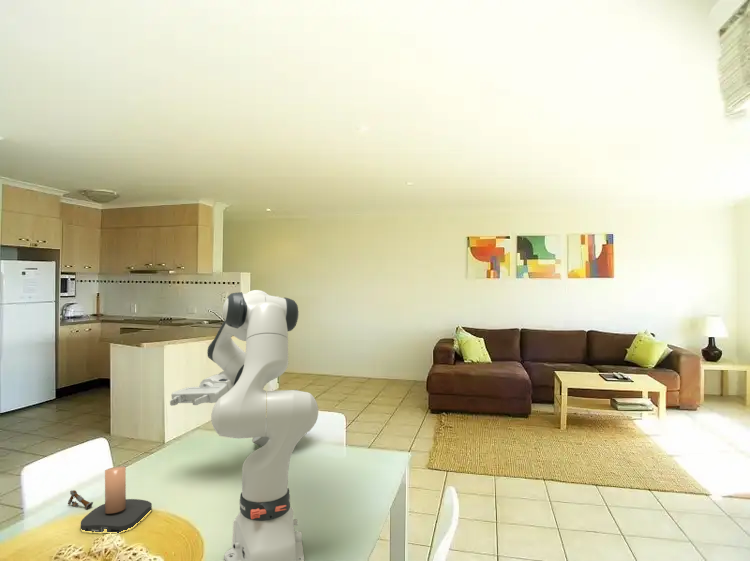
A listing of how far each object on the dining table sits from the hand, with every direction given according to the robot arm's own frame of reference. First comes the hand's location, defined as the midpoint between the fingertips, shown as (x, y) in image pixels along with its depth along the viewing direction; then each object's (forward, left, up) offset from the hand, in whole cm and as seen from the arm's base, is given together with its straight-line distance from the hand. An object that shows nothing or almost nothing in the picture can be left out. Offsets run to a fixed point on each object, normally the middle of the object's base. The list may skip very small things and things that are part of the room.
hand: (182, 403), depth 143 cm
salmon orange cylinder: (-14, +17, -25) cm, 33 cm away
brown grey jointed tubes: (-1, +28, -28) cm, 39 cm away
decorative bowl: (+27, -45, -23) cm, 57 cm away
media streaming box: (-13, +16, -28) cm, 35 cm away
